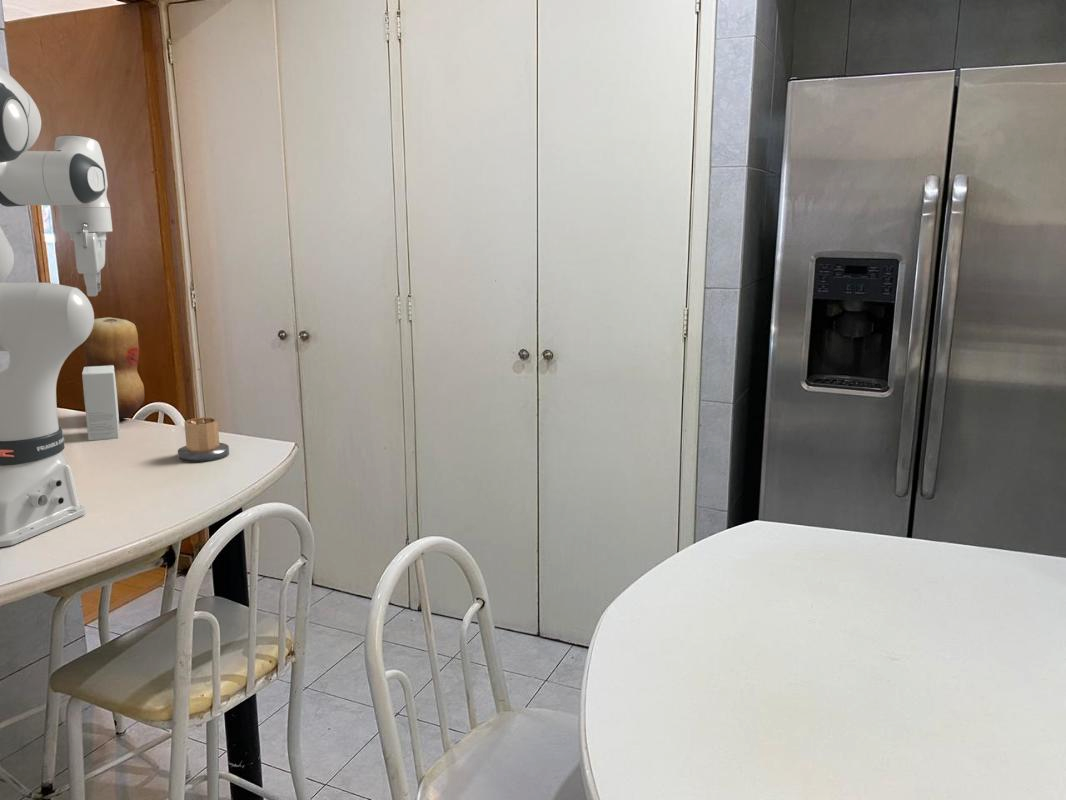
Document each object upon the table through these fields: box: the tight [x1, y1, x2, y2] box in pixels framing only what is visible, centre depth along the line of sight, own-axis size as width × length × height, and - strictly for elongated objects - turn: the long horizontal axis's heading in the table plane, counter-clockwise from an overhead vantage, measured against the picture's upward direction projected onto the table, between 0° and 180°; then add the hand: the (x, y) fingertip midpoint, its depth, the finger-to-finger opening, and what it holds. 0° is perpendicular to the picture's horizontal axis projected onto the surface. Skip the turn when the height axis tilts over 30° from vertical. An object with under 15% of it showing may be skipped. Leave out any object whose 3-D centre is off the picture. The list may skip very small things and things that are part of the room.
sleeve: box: [183, 417, 220, 453], centre depth 172 cm, size 6×6×6 cm
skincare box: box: [81, 365, 120, 442], centre depth 186 cm, size 8×7×16 cm
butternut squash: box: [82, 316, 145, 421], centre depth 199 cm, size 14×13×25 cm
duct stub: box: [177, 442, 230, 463], centre depth 172 cm, size 10×10×6 cm
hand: (94, 293), depth 164 cm, fingers open, 8 cm apart
